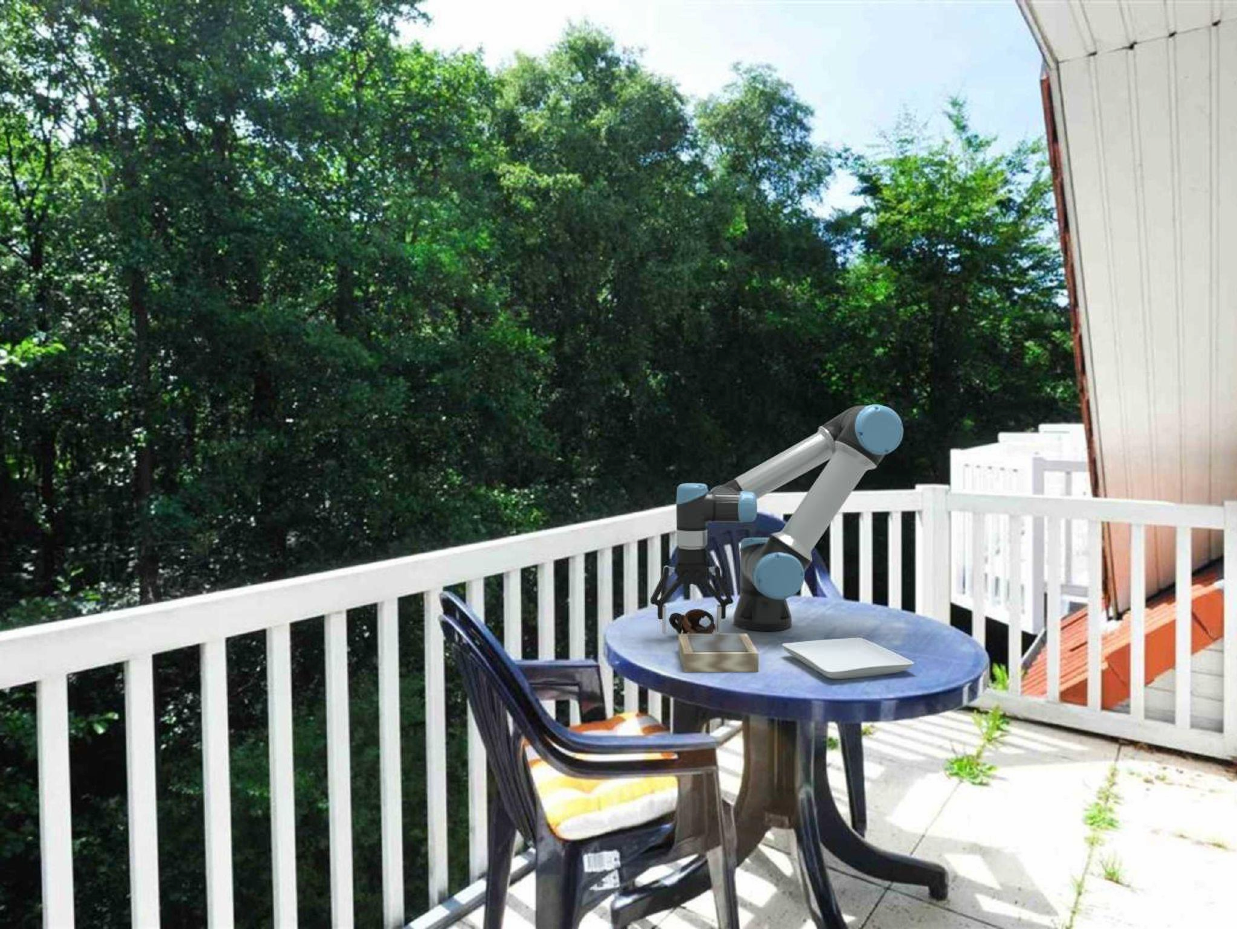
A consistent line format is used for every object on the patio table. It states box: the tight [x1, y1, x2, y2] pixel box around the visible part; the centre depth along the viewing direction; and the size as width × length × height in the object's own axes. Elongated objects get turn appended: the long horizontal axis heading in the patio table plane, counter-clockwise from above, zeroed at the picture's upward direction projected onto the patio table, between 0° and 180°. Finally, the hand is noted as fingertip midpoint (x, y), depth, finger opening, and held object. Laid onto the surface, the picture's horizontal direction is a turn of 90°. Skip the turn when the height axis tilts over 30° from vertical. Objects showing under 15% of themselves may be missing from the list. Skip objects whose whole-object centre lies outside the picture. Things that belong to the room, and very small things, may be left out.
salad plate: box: [781, 637, 915, 680], centre depth 183 cm, size 21×21×3 cm
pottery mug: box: [668, 608, 717, 635], centre depth 206 cm, size 12×10×8 cm
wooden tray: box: [677, 633, 760, 673], centre depth 187 cm, size 16×16×4 cm
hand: (691, 632), depth 205 cm, fingers open, 13 cm apart
